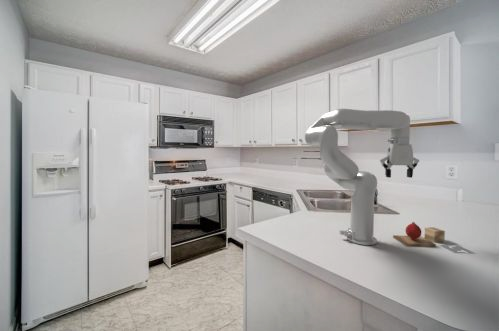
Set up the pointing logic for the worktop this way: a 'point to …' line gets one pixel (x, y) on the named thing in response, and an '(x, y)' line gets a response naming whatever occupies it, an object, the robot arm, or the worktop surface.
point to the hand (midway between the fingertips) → (398, 177)
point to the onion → (413, 231)
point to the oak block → (434, 234)
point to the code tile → (457, 249)
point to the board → (414, 241)
